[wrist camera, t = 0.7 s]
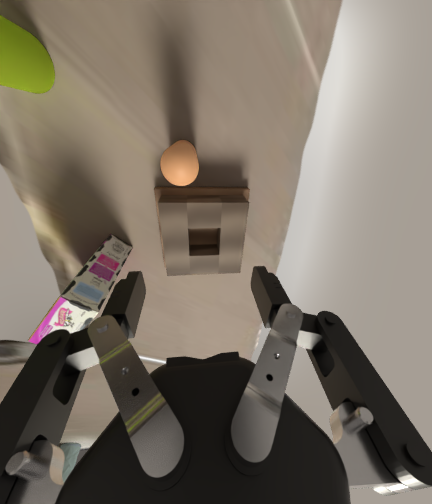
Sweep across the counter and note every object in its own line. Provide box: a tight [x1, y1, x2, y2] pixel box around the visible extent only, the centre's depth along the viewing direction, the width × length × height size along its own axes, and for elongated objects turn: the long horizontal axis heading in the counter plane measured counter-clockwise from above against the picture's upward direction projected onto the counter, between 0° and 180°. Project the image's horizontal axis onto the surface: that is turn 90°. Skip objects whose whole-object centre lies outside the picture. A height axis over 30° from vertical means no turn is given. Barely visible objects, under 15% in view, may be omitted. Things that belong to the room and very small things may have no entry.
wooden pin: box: [160, 140, 199, 186], centre depth 25 cm, size 4×4×12 cm
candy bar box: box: [28, 234, 133, 344], centre depth 32 cm, size 11×5×16 cm, turn 137°
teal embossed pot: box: [60, 443, 81, 483], centre depth 85 cm, size 10×10×12 cm
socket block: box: [154, 187, 250, 276], centre depth 35 cm, size 16×16×6 cm
